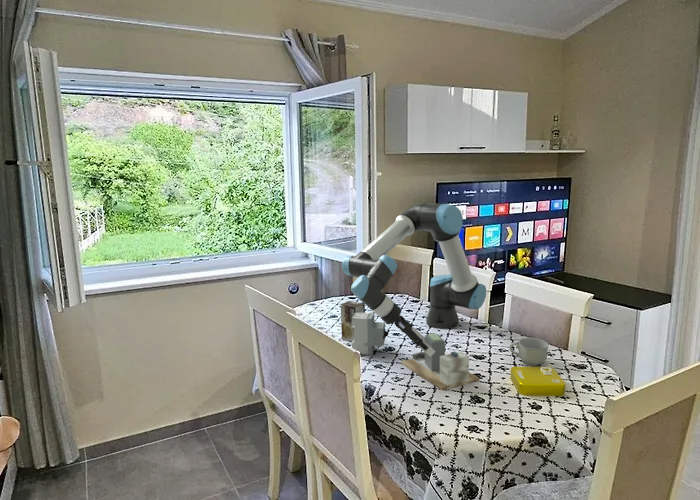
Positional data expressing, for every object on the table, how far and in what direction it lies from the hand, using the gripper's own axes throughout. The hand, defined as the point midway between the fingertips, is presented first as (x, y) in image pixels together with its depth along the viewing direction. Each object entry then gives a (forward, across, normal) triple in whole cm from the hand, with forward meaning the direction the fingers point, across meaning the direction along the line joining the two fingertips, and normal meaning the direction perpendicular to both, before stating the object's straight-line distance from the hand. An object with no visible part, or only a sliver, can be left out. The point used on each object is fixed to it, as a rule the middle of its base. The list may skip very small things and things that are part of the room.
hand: (427, 347), depth 187 cm
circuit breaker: (-6, -22, -19) cm, 30 cm away
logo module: (+8, 0, -4) cm, 8 cm away
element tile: (+30, +19, +17) cm, 39 cm away
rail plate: (+9, +2, -4) cm, 10 cm away
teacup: (+34, -1, +22) cm, 41 cm away
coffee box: (-10, -37, -23) cm, 45 cm away
